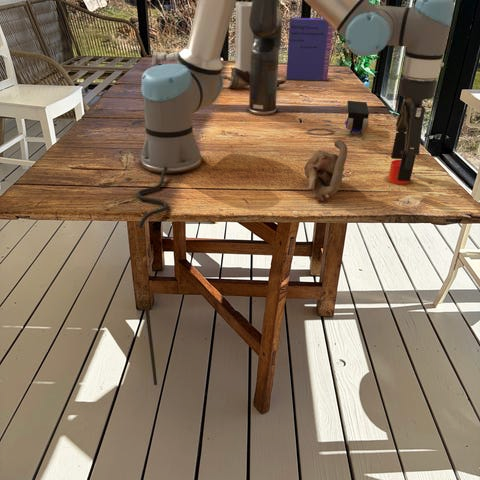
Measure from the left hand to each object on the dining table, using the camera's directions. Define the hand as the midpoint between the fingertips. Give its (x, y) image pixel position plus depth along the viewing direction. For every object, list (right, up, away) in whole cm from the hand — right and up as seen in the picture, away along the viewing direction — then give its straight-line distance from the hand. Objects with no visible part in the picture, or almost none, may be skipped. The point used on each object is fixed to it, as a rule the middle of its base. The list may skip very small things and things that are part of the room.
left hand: (399, 168), depth 114 cm
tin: (0, -3, +1) cm, 3 cm away
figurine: (-35, +44, +78) cm, 96 cm away
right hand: (+2, +62, +39) cm, 73 cm away
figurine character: (-3, +17, +34) cm, 38 cm away
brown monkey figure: (-19, -5, -4) cm, 20 cm away
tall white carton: (-32, +59, +103) cm, 124 cm away
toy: (-64, +65, +112) cm, 144 cm away
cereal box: (-9, +53, +93) cm, 108 cm away
